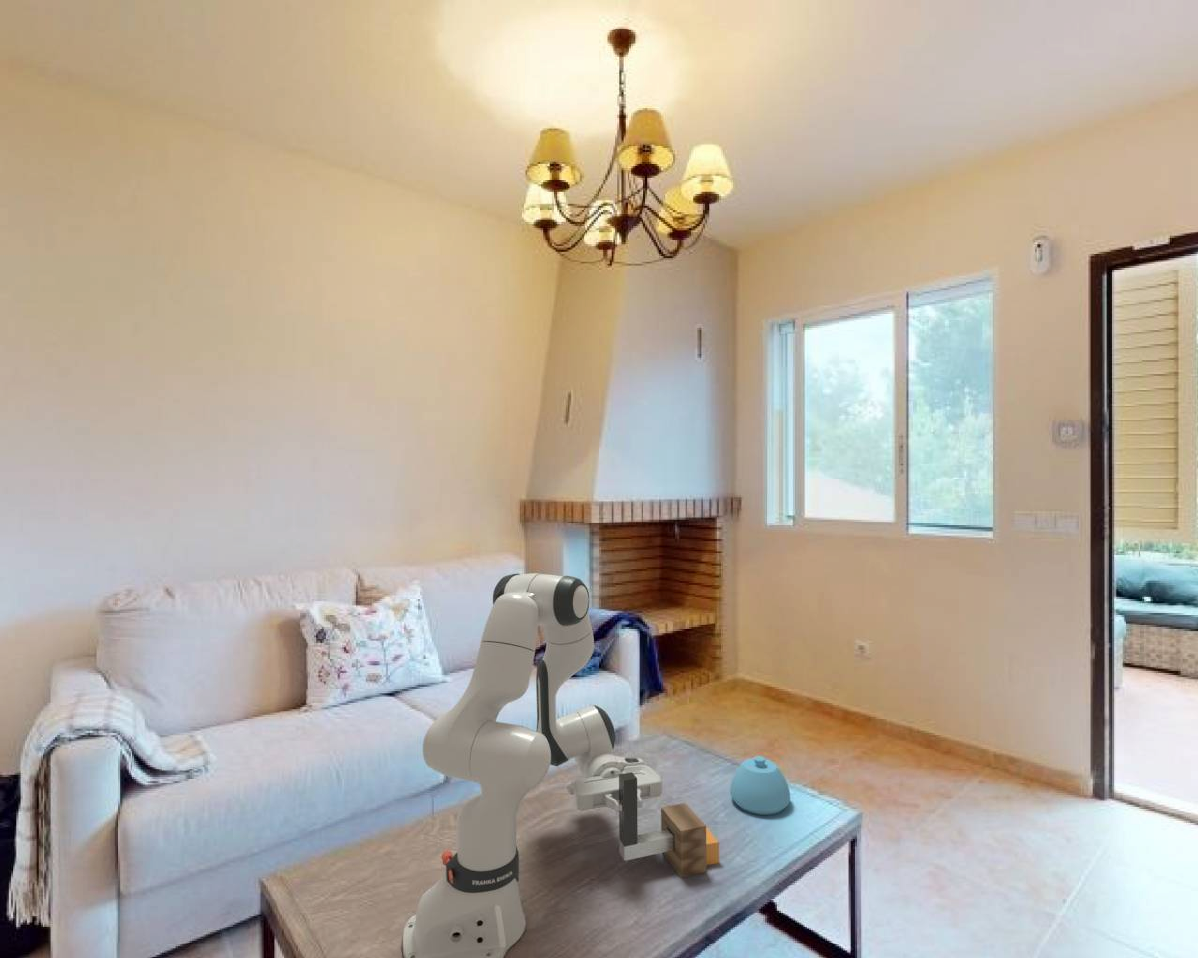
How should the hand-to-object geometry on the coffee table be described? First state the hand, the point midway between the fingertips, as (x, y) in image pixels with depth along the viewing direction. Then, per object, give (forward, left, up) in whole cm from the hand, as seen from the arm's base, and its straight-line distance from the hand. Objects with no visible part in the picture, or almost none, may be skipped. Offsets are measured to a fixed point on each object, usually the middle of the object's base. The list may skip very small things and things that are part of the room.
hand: (629, 806), depth 136 cm
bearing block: (+13, +1, -15) cm, 20 cm away
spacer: (+18, +1, -15) cm, 24 cm away
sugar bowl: (+43, +17, -15) cm, 49 cm away
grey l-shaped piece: (+6, +1, -11) cm, 13 cm away
